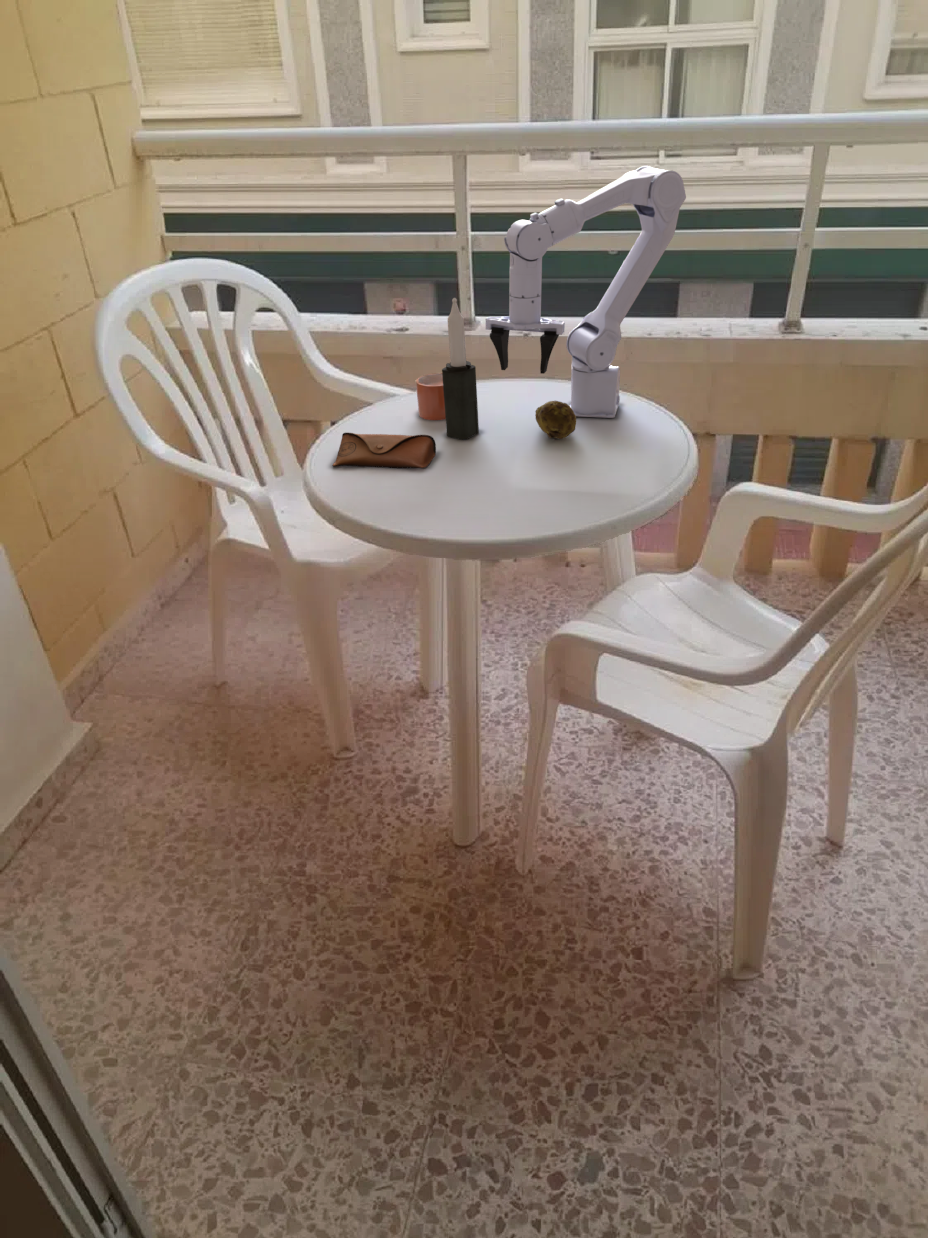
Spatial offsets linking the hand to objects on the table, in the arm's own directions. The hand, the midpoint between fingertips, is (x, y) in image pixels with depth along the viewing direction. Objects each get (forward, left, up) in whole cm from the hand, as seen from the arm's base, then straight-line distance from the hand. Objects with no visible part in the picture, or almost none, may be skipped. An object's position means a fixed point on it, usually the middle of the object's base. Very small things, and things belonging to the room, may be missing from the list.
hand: (523, 370), depth 155 cm
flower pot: (+19, -3, -10) cm, 21 cm away
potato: (-7, +7, -10) cm, 15 cm away
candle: (+11, +7, -10) cm, 17 cm away
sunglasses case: (+22, +21, -11) cm, 32 cm away
